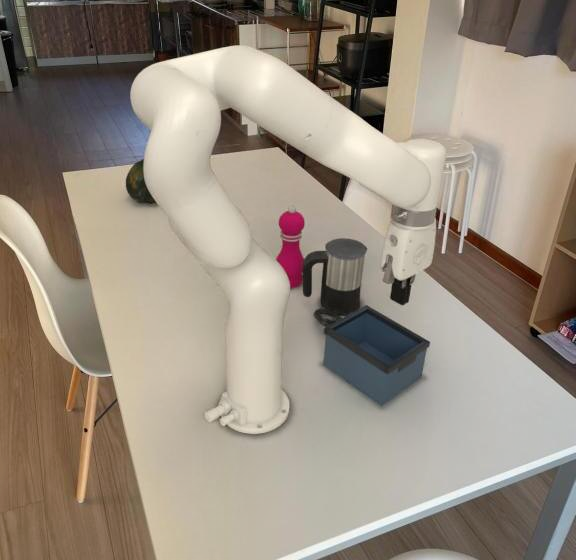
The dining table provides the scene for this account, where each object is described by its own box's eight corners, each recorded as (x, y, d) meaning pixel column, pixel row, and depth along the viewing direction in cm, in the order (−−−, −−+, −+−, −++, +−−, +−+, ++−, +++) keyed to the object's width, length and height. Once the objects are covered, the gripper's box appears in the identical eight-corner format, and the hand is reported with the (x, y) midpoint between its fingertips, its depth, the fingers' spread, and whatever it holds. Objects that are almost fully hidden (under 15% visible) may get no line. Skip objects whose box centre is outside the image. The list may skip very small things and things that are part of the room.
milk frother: (349, 290, 138) (355, 234, 131) (382, 327, 126) (390, 268, 118) (294, 300, 134) (297, 244, 126) (322, 340, 121) (327, 280, 114)
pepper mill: (301, 291, 137) (305, 214, 127) (271, 287, 139) (273, 210, 128) (306, 275, 143) (310, 201, 133) (278, 271, 145) (280, 198, 134)
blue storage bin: (423, 378, 112) (382, 407, 105) (362, 340, 122) (321, 364, 115) (430, 341, 107) (388, 369, 100) (366, 304, 117) (323, 327, 110)
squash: (113, 178, 179) (126, 151, 167) (156, 169, 188) (171, 143, 176) (133, 217, 177) (148, 193, 165) (175, 206, 186) (192, 183, 174)
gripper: (403, 232, 93) (389, 325, 103) (456, 208, 102) (438, 295, 111) (368, 216, 98) (357, 306, 107) (421, 195, 106) (407, 279, 116)
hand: (399, 300), depth 109 cm, fingers closed
